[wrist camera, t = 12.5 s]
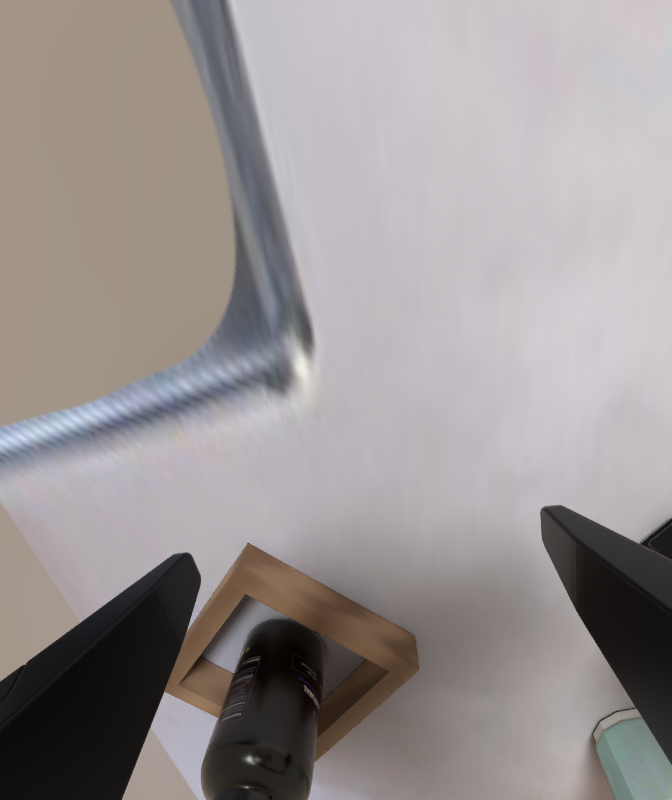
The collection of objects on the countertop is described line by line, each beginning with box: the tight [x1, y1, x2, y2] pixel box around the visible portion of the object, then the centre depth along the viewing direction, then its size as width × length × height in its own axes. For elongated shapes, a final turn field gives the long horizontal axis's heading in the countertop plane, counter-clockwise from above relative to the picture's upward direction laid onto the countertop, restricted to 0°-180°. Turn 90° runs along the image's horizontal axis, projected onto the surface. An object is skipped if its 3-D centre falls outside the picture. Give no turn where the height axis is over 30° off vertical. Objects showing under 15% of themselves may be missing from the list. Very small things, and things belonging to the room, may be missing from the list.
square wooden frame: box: [164, 543, 419, 762], centre depth 28 cm, size 15×15×2 cm
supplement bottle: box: [201, 619, 326, 800], centre depth 23 cm, size 7×7×12 cm
